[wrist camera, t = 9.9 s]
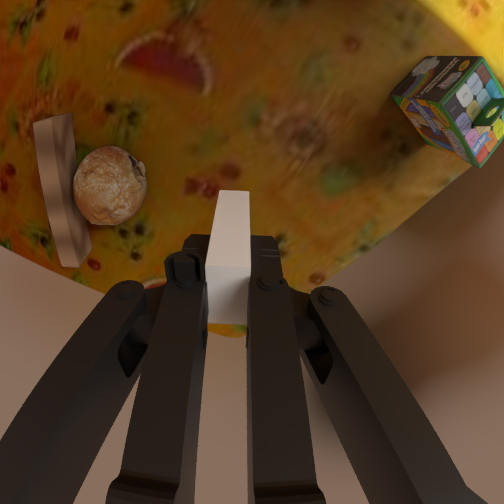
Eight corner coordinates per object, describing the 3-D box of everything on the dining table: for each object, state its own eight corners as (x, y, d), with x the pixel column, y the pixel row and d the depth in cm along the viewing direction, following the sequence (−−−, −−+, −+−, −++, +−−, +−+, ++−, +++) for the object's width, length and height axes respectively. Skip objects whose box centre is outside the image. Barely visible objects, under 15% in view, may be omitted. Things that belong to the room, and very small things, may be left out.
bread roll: (161, 184, 40) (167, 186, 33) (111, 238, 39) (106, 252, 32) (113, 135, 36) (108, 126, 29) (63, 190, 35) (47, 194, 28)
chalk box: (426, 145, 34) (498, 184, 22) (386, 94, 31) (460, 110, 18) (463, 104, 31) (539, 130, 18) (427, 53, 27) (507, 56, 15)
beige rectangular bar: (54, 116, 30) (32, 123, 26) (72, 112, 30) (51, 119, 26) (76, 247, 41) (61, 266, 36) (92, 248, 41) (79, 267, 36)
